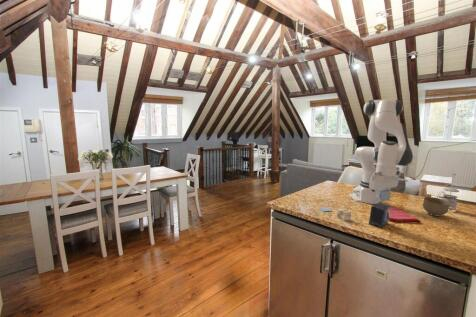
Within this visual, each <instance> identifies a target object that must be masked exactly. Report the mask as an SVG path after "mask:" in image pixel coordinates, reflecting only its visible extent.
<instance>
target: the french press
mask: <svg viewBox="0 0 476 317" xmlns="http://www.w3.org/2000/svg"><path fill="white" fill-rule="evenodd" d="M451 175H452V178H455V177H454V176H456V173H455V172H453V173H451ZM453 182H454V180H452V182H451V184H453ZM443 190H444V191H442V190H441V191H440V192H439V193H438V194H437V197H436V198H439V199H442V200H445V201H447V202H449V203H450V205H449V207H452V208H448V209H449V210H455V209H456V210H457V203H458V196H456V195H453V194H451V193H459V192H460V190H458V189H457V188H454V187H453V185H451V187H449V186H448V187H444V188H443ZM446 192H450V193H449V194H447V193H446ZM445 193H446V194H445ZM441 194H442V196H441ZM440 196H441V198H440ZM453 208H454V209H453Z"/></svg>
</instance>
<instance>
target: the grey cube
mask: <svg viewBox="0 0 476 317" xmlns="http://www.w3.org/2000/svg"><path fill="white" fill-rule="evenodd" d="M391 193H392V192H391V190H390V191H387V190H386V189H381V190H380V194H381V197H376V192H375V196H374V198H376V199H378V200H381V201H380V202H388V201H390V198H391Z"/></svg>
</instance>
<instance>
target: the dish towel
mask: <svg viewBox="0 0 476 317" xmlns="http://www.w3.org/2000/svg"><path fill="white" fill-rule="evenodd" d="M373 205H374V204H371V206H373ZM389 221H390V222H392V221H403V222H402V223H408V222H420V223H421V220H420V219H417V218H416V217H414V216H412V215H410V214H409V213H406V212H405V211H404V210H401V209H400V208H399V207H396V206H390V211H389V218H388V222H389Z"/></svg>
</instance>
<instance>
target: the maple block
mask: <svg viewBox="0 0 476 317" xmlns="http://www.w3.org/2000/svg"><path fill="white" fill-rule="evenodd" d="M351 217H352V211H351V210H348V209H346V208H340V209H337V213H336V218H337V219H339V220H341V221H343V222H345V221H351Z"/></svg>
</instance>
